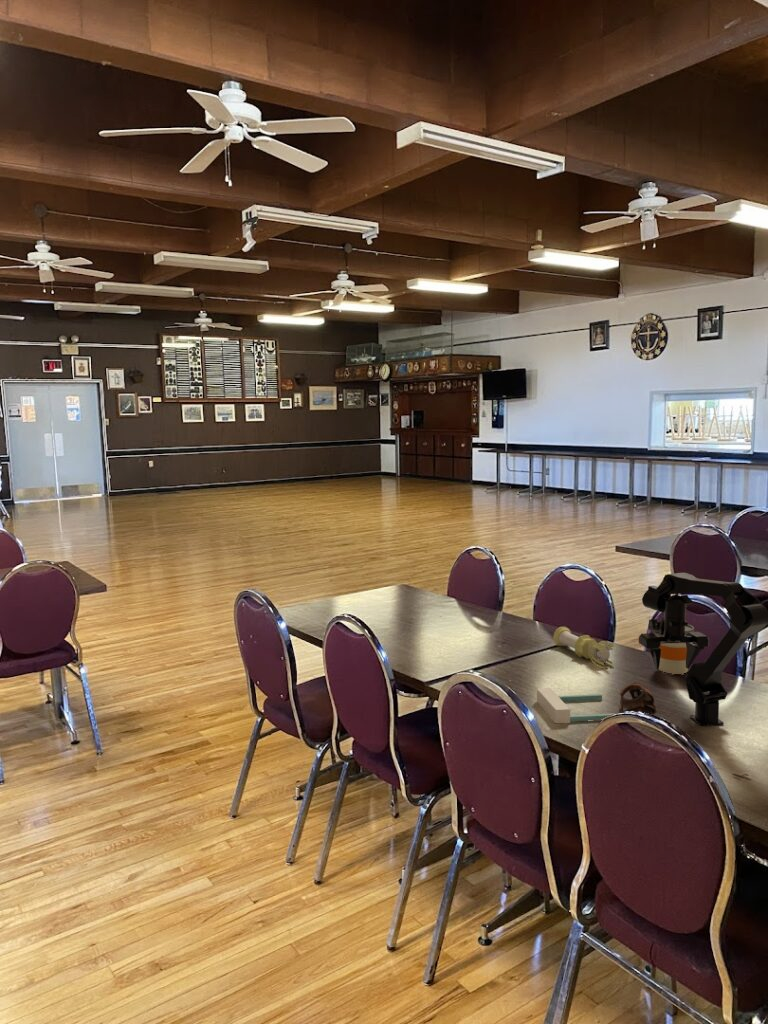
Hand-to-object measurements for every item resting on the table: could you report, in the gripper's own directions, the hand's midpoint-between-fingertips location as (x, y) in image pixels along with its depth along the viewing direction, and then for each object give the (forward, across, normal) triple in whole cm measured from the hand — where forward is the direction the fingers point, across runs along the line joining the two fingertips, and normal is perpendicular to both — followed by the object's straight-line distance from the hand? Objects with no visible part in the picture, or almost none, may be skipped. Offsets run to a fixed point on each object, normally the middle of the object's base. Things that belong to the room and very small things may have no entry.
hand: (672, 668), depth 213 cm
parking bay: (+11, +28, +1) cm, 30 cm away
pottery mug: (+11, +10, +1) cm, 15 cm away
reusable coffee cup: (+12, -16, -30) cm, 36 cm away
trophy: (+13, +8, -48) cm, 51 cm away
